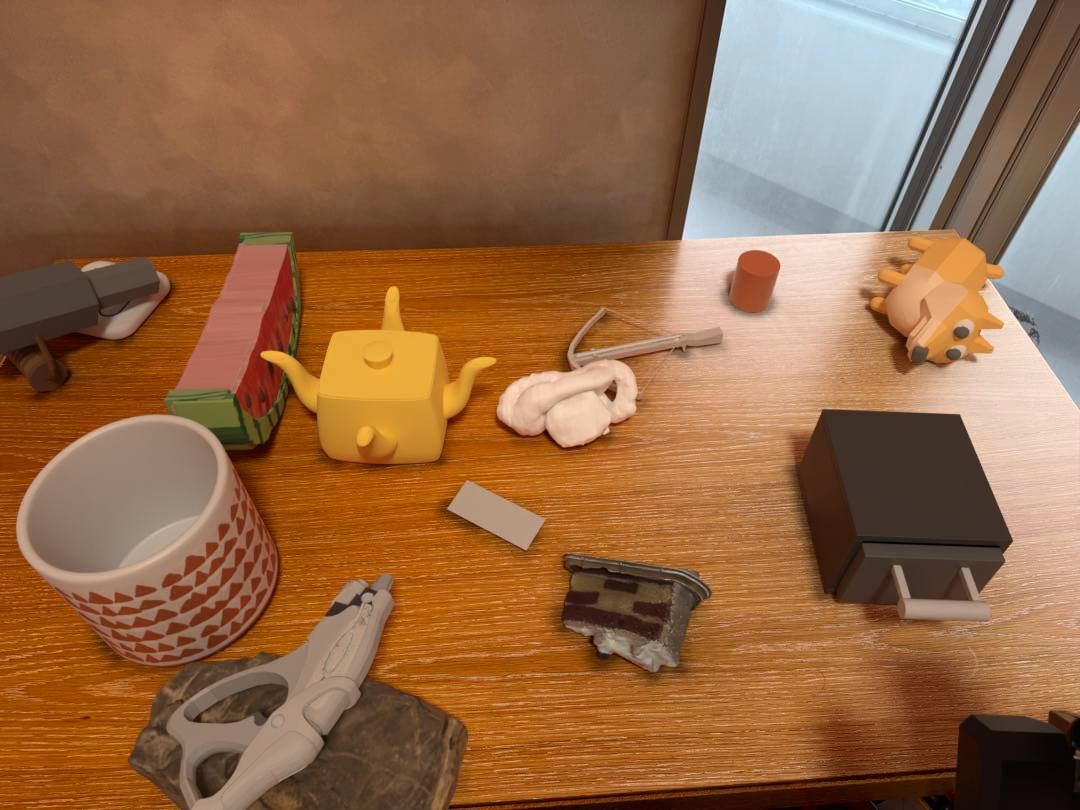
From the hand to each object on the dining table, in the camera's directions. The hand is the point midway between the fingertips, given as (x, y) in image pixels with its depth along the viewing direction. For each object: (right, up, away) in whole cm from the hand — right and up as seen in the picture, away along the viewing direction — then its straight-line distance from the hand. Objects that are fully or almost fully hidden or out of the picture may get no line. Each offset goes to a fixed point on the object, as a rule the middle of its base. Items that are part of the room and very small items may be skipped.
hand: (1054, 718), depth 47 cm
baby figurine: (-28, +22, +30) cm, 47 cm away
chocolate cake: (-23, +1, +17) cm, 29 cm away
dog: (+7, +31, +42) cm, 53 cm away
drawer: (-1, +5, +20) cm, 21 cm away
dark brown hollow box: (-1, +7, +23) cm, 25 cm away
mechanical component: (-74, +30, +30) cm, 85 cm away
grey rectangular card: (-33, +9, +23) cm, 41 cm away
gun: (-50, +1, +9) cm, 51 cm away
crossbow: (-19, +23, +37) cm, 48 cm away
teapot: (-43, +16, +30) cm, 55 cm away
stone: (-45, -6, +10) cm, 47 cm away
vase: (-56, +4, +18) cm, 59 cm away
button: (-73, +33, +43) cm, 91 cm away
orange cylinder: (-6, +29, +44) cm, 53 cm away
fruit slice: (-56, +19, +32) cm, 67 cm away
